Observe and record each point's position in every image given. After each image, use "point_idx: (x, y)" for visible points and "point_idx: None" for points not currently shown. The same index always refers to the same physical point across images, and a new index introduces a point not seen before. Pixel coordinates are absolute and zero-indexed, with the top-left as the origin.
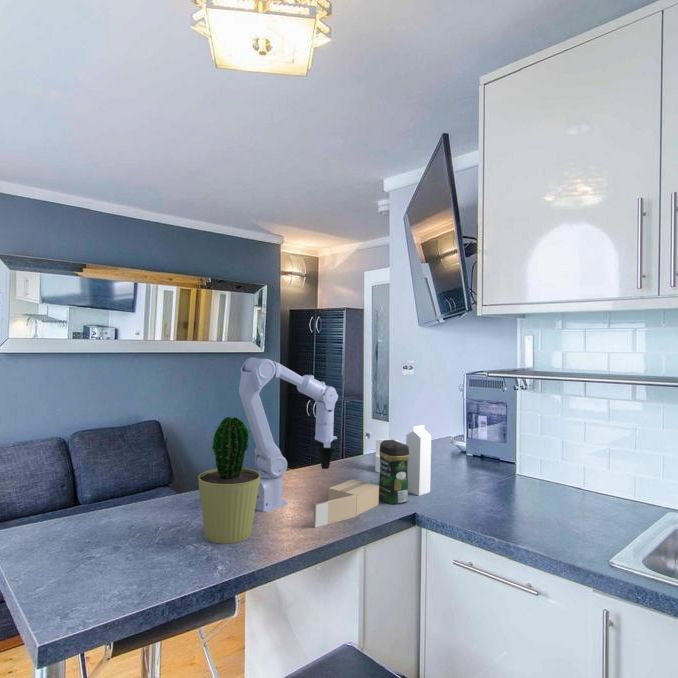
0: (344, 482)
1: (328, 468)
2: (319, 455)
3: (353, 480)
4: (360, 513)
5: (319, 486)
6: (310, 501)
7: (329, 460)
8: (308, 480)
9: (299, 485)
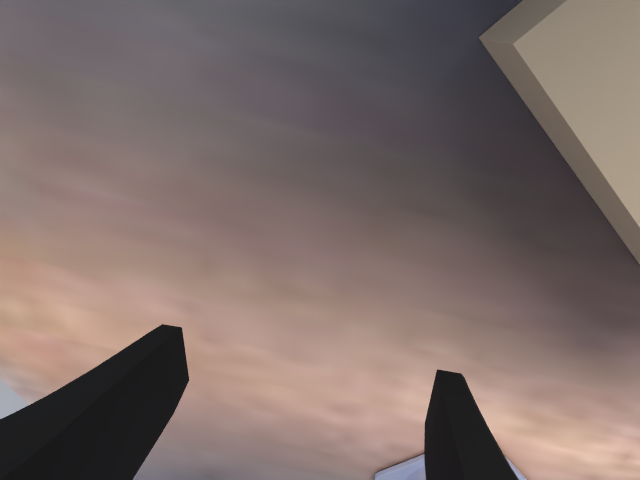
0: (609, 169)
1: (462, 375)
2: (140, 444)
3: (569, 31)
4: None
5: (169, 209)
6: (456, 325)
7: (503, 470)
8: (57, 244)
9: (158, 311)
